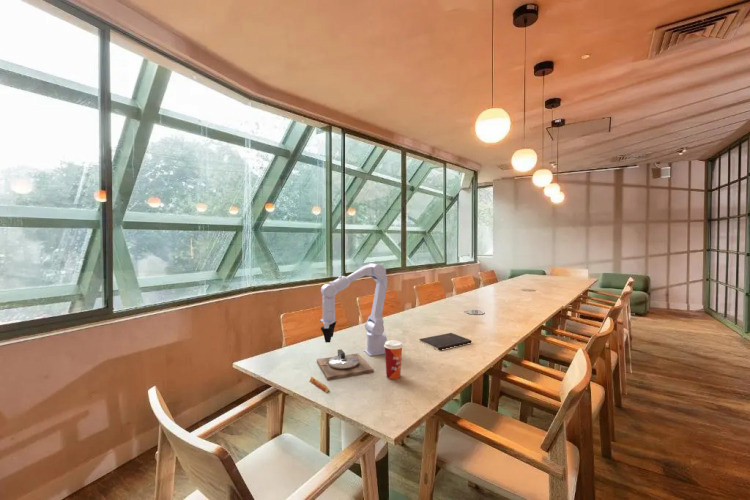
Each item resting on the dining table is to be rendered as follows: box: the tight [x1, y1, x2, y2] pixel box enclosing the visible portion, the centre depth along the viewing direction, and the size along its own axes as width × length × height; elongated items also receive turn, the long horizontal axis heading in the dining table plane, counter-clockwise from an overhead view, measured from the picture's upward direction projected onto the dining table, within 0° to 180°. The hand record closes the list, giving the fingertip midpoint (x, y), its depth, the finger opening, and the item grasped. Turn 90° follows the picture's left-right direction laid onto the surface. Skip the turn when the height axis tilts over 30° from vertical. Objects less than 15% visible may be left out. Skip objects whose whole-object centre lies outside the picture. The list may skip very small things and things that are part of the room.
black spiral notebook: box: [419, 332, 472, 351], centre depth 172 cm, size 16×23×2 cm
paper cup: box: [384, 339, 404, 380], centre depth 130 cm, size 8×8×14 cm
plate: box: [316, 353, 374, 381], centre depth 140 cm, size 20×20×1 cm
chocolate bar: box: [308, 376, 331, 394], centre depth 122 cm, size 3×12×2 cm, turn 41°
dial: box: [329, 348, 359, 370], centre depth 140 cm, size 13×14×4 cm
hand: (329, 339), depth 147 cm, fingers open, 7 cm apart
